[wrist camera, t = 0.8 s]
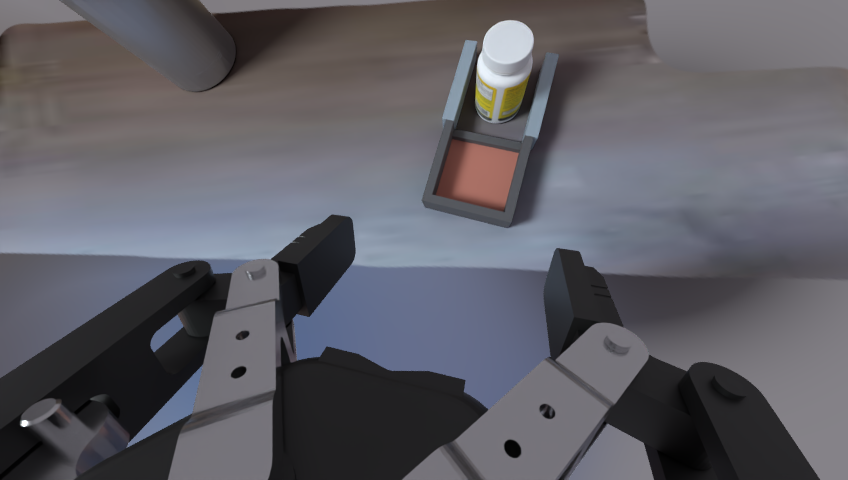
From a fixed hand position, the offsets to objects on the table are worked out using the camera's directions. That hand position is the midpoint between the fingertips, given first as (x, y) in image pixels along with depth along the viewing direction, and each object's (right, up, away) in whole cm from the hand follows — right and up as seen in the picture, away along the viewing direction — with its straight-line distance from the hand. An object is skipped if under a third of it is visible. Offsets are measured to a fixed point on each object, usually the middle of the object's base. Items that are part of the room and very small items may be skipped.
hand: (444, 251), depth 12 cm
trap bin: (+5, +7, +19) cm, 21 cm away
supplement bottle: (+7, +15, +21) cm, 26 cm away
